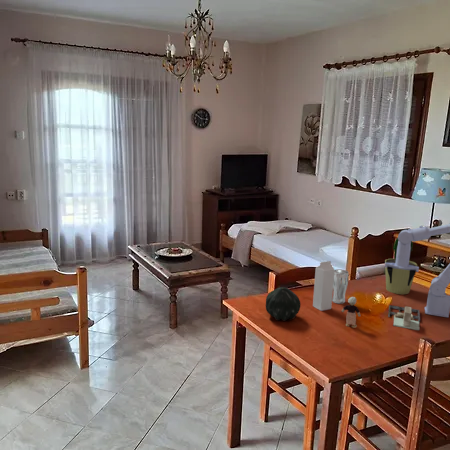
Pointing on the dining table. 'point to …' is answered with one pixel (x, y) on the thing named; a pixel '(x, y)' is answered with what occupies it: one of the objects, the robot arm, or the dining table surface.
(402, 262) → the robot arm
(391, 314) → the metal rack
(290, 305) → the squash
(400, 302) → the dining table surface
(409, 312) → the tall beige block
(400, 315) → the offcut stack
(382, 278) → the dining table surface
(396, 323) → the sage mat
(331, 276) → the milk
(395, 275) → the potted cactus
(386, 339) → the dining table surface
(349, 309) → the grandmother figurine
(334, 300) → the beer glass
